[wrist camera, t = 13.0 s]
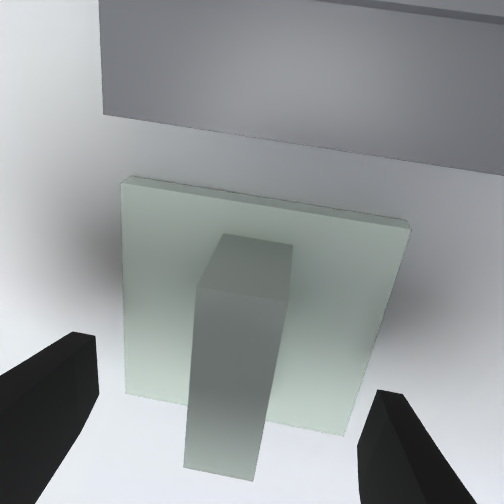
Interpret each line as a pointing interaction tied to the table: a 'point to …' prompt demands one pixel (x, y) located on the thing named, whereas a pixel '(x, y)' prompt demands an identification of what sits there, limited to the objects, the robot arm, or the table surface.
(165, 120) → the panel
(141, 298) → the cover
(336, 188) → the table surface
